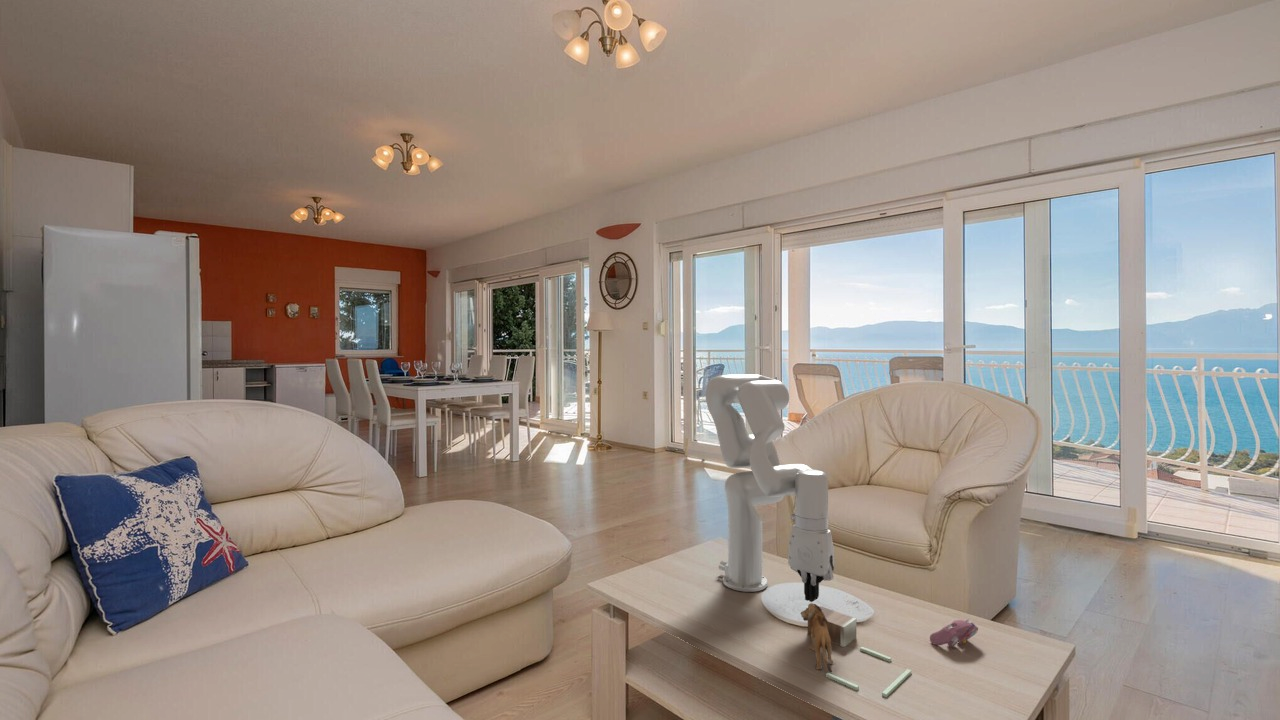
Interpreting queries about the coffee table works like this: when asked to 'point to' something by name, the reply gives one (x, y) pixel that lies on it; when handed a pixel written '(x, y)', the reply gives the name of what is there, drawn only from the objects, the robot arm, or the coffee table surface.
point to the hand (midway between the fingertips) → (811, 599)
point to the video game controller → (954, 633)
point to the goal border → (901, 677)
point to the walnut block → (839, 627)
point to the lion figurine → (818, 633)
